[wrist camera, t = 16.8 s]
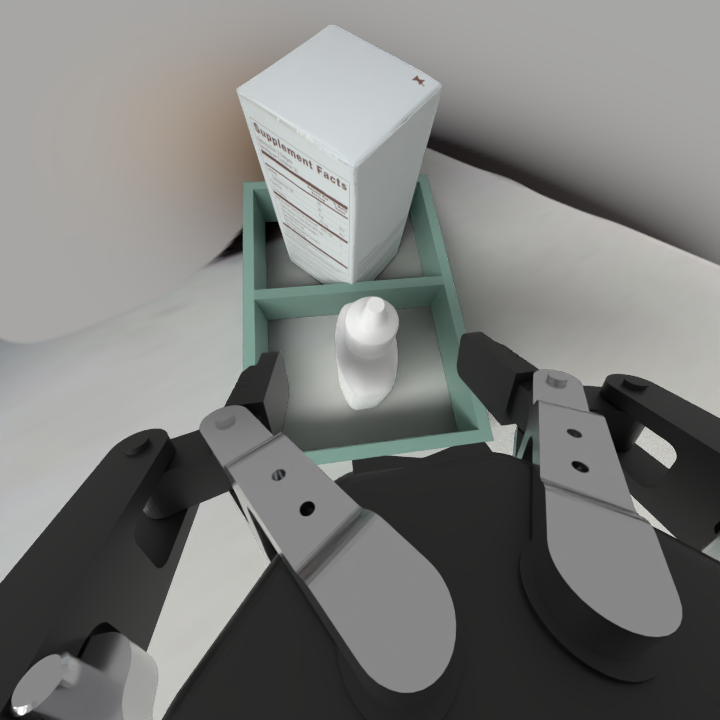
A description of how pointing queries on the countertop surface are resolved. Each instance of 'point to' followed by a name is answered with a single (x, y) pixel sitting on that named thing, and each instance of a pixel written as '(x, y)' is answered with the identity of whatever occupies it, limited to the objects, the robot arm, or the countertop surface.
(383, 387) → the eye dropper bottle
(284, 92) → the supplement box
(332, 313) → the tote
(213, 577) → the countertop surface
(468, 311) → the countertop surface
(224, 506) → the countertop surface
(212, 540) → the countertop surface
